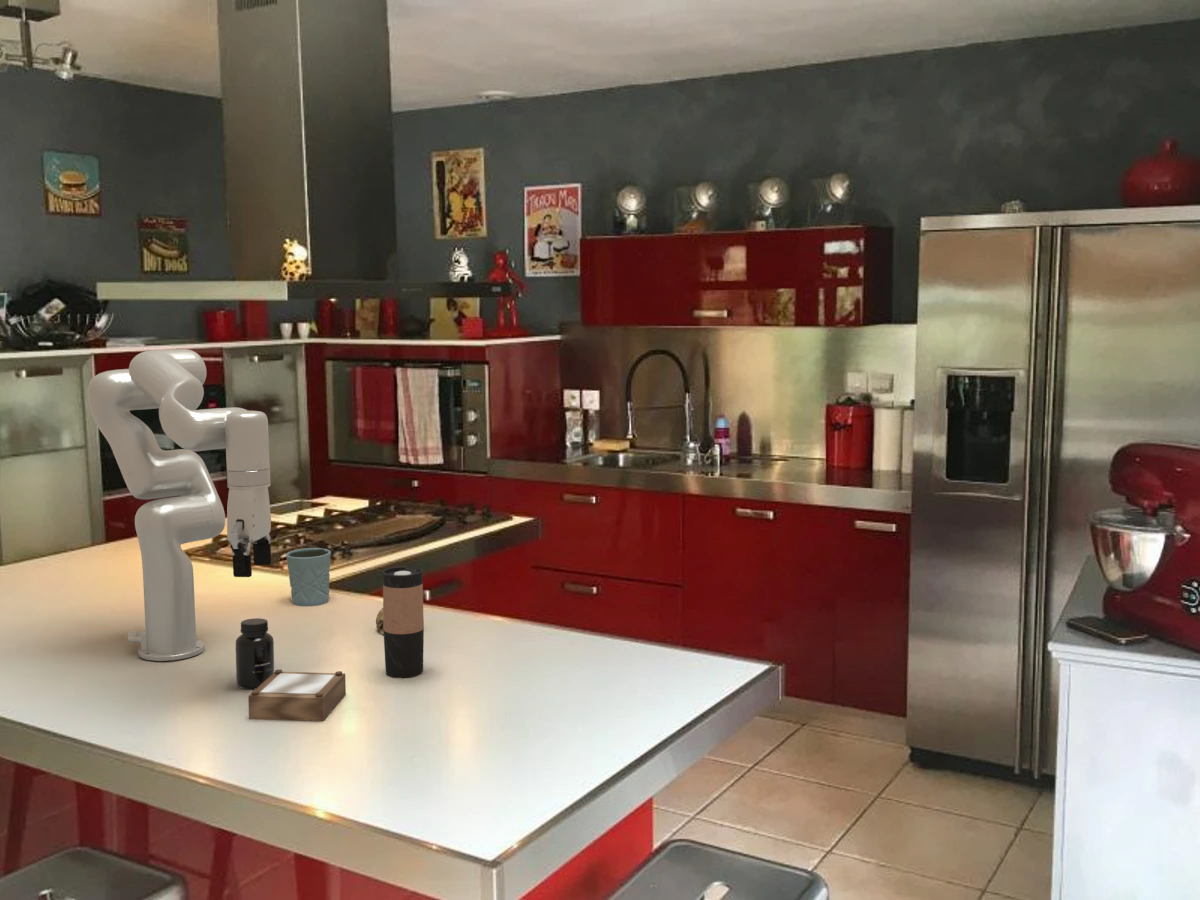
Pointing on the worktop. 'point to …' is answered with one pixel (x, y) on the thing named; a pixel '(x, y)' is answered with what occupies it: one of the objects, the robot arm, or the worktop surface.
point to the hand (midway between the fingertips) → (252, 570)
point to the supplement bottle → (254, 654)
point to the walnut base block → (297, 696)
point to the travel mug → (403, 621)
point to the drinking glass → (309, 576)
